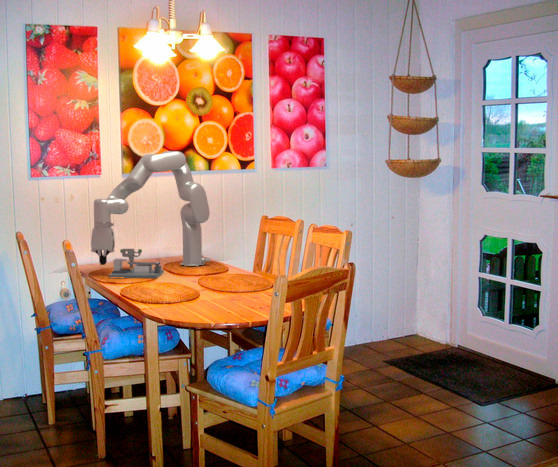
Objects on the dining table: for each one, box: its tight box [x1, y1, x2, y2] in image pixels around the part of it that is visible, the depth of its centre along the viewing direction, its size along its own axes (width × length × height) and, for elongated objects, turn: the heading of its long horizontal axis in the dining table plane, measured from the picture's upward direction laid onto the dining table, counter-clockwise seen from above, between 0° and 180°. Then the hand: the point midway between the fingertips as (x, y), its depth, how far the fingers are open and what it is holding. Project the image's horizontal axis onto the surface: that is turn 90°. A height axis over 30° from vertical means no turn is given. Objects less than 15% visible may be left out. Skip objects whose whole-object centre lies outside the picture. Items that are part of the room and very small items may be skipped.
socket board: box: [108, 264, 165, 280], centre depth 322 cm, size 22×16×4 cm
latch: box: [112, 258, 128, 271], centre depth 322 cm, size 5×4×6 cm
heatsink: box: [133, 264, 153, 274], centre depth 322 cm, size 7×7×3 cm
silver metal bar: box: [127, 261, 161, 266], centre depth 322 cm, size 15×3×2 cm, turn 87°
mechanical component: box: [119, 248, 143, 269], centre depth 339 cm, size 3×10×10 cm, turn 89°
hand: (103, 264), depth 322 cm, fingers closed
